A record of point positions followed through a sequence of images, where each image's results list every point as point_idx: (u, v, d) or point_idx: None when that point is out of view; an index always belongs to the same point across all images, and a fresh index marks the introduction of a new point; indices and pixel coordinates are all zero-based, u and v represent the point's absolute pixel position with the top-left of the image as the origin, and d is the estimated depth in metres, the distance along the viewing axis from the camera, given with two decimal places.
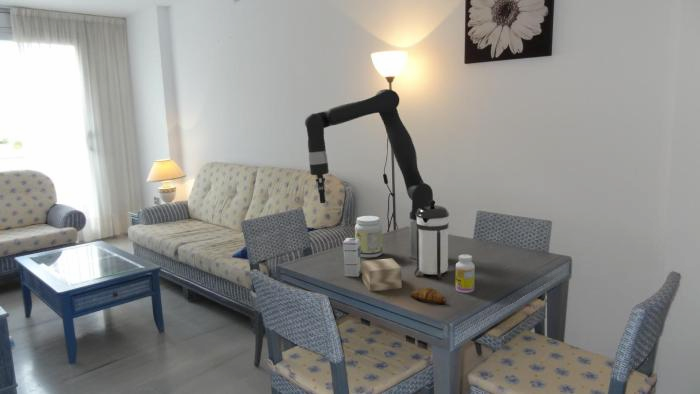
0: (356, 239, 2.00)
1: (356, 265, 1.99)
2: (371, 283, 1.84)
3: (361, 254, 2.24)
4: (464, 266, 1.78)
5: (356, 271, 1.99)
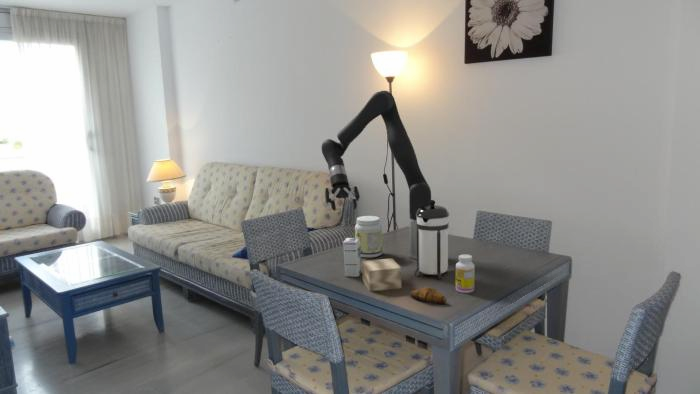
0: (356, 239, 2.00)
1: (356, 265, 1.99)
2: (371, 283, 1.84)
3: (361, 254, 2.24)
4: (464, 266, 1.78)
5: (356, 271, 1.99)
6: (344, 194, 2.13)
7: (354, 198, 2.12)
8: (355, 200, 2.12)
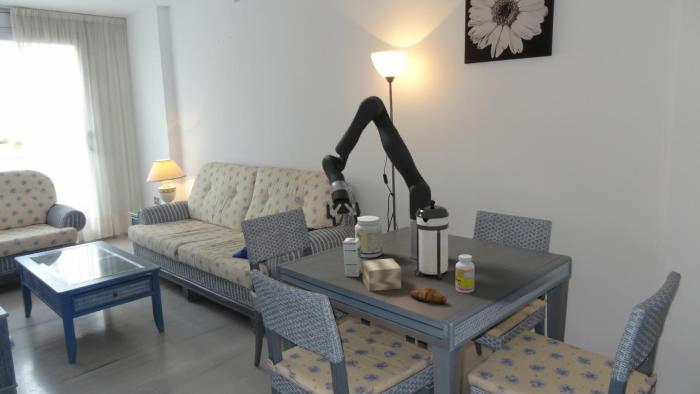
0: (356, 239, 2.00)
1: (356, 265, 1.99)
2: (370, 283, 1.84)
3: (361, 254, 2.24)
4: (464, 266, 1.78)
5: (356, 271, 1.99)
6: (345, 210, 2.13)
7: (355, 214, 2.12)
8: (356, 216, 2.12)
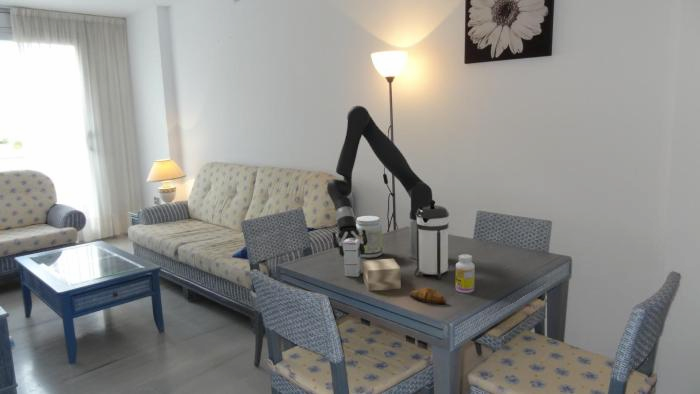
0: (356, 239, 2.00)
1: (356, 265, 1.99)
2: (369, 283, 1.84)
3: None
4: (464, 266, 1.78)
5: (356, 271, 1.99)
6: None
7: (362, 243, 2.02)
8: (363, 245, 2.02)
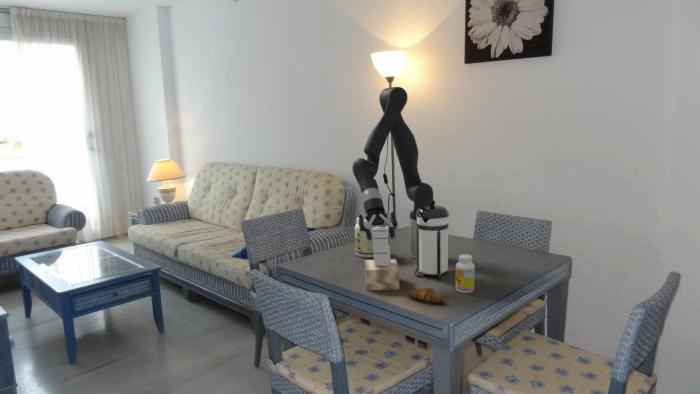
0: (386, 226, 1.88)
1: (386, 254, 1.86)
2: (367, 283, 1.85)
3: (361, 254, 2.24)
4: (464, 266, 1.78)
5: (387, 260, 1.86)
6: (380, 221, 1.90)
7: (391, 226, 1.89)
8: (393, 228, 1.89)
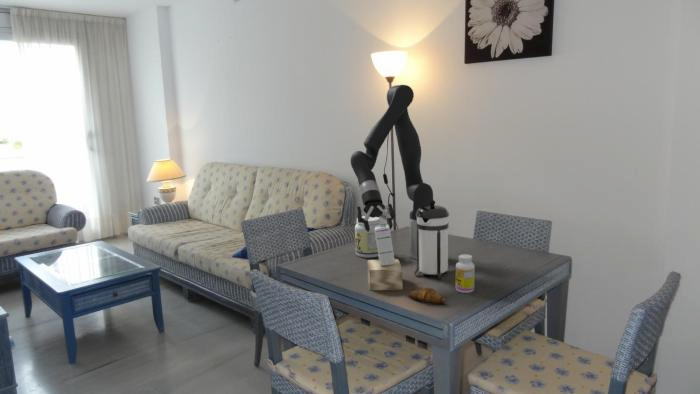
0: (386, 225, 1.88)
1: (391, 252, 1.87)
2: (371, 283, 1.85)
3: (361, 254, 2.24)
4: (464, 266, 1.78)
5: (392, 258, 1.87)
6: (378, 213, 1.92)
7: (389, 217, 1.92)
8: (390, 219, 1.92)
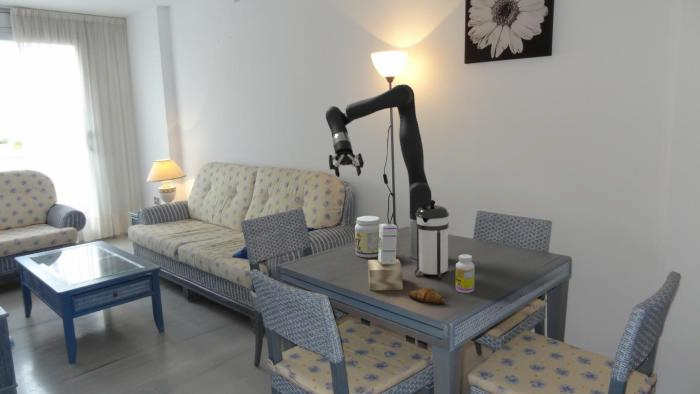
0: (392, 224, 1.90)
1: (394, 251, 1.87)
2: (371, 283, 1.85)
3: (361, 254, 2.24)
4: (464, 266, 1.78)
5: (394, 258, 1.88)
6: (348, 161, 2.09)
7: (358, 165, 2.09)
8: (359, 167, 2.09)
